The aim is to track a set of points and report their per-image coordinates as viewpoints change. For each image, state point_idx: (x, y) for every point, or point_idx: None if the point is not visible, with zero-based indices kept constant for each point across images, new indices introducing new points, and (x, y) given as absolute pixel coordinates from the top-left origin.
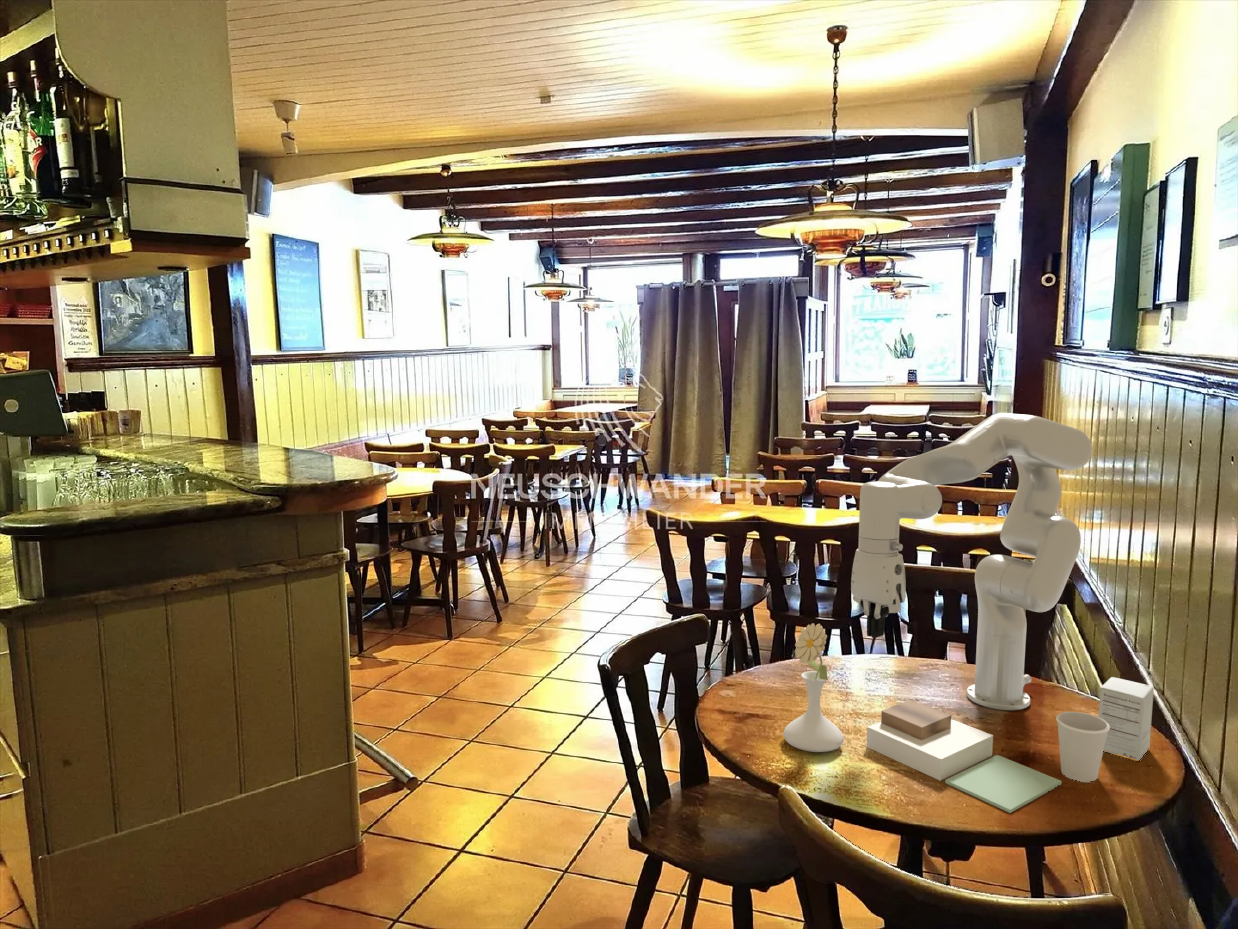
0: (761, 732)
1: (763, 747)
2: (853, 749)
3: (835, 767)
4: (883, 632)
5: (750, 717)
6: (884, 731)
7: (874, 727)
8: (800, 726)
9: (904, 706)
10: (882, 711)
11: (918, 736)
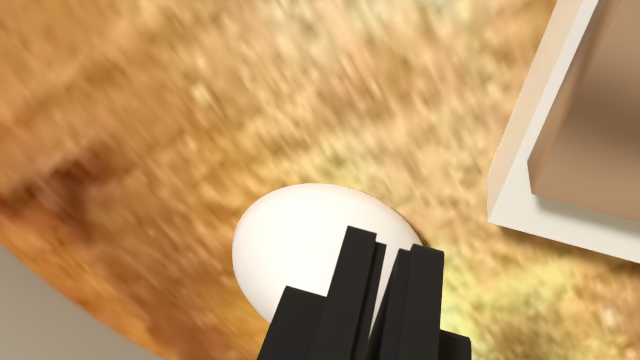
0: (177, 258)
1: (243, 324)
2: (454, 213)
3: (458, 330)
4: (466, 340)
5: (82, 194)
6: (566, 223)
7: (516, 213)
8: None
9: (628, 82)
10: (536, 194)
11: None
